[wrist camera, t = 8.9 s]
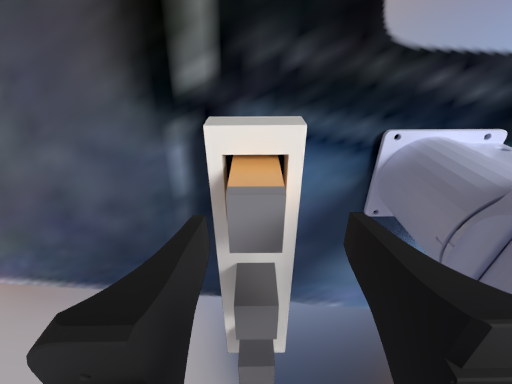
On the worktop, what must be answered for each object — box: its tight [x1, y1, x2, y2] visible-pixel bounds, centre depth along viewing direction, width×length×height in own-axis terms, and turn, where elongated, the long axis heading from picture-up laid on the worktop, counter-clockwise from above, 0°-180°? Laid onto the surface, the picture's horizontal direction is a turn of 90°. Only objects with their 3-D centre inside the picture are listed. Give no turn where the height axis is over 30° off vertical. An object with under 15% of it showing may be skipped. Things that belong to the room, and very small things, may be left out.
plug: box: [226, 155, 286, 253], centre depth 19 cm, size 4×4×7 cm
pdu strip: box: [203, 116, 307, 384], centre depth 23 cm, size 7×28×7 cm, turn 0°
